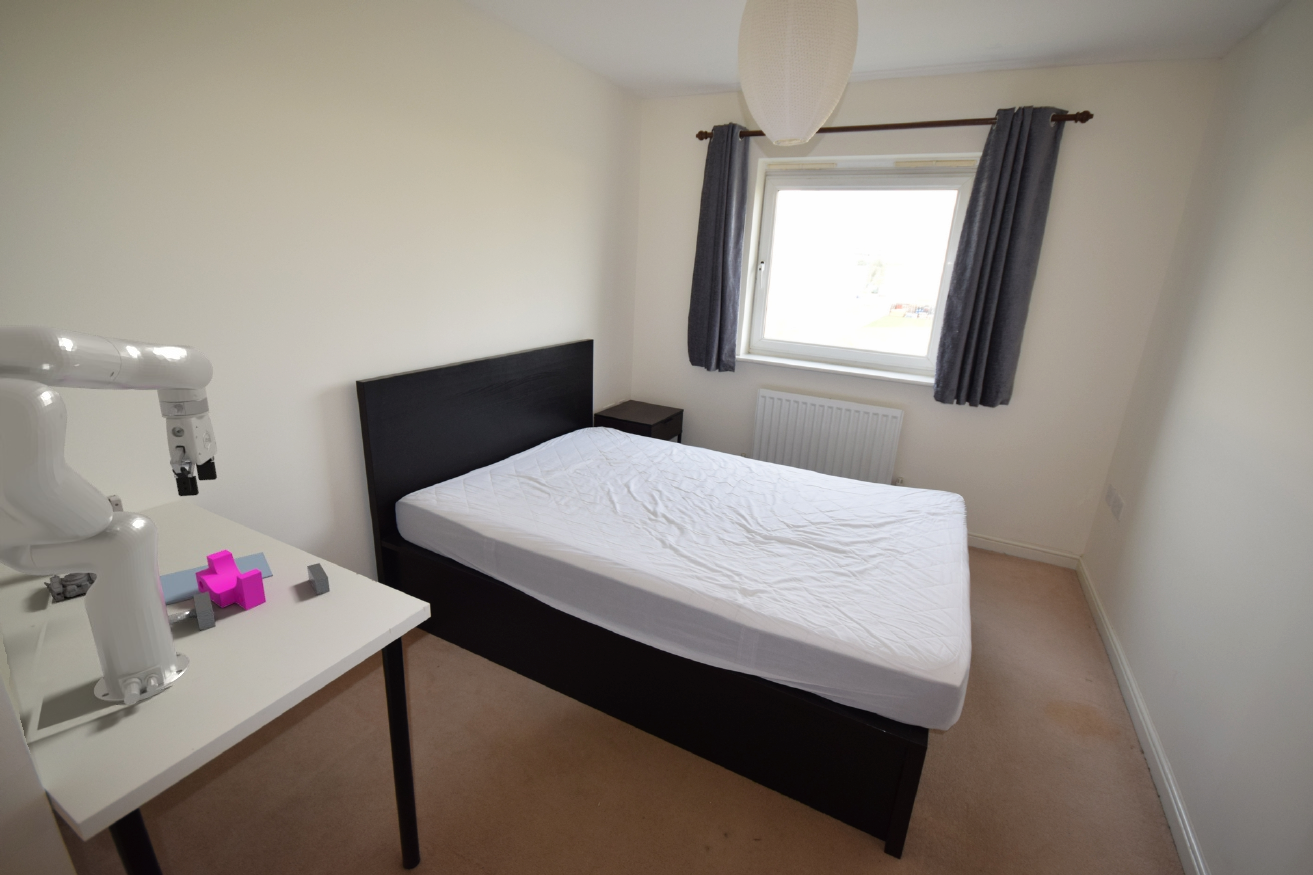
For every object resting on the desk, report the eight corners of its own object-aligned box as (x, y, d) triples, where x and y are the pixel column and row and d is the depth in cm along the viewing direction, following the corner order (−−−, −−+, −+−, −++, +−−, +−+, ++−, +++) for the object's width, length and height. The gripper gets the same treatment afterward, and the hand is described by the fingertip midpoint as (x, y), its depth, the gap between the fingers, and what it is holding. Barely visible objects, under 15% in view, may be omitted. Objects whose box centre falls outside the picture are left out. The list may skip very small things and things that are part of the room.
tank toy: (45, 585, 125) (39, 564, 124) (103, 571, 132) (98, 550, 131) (49, 607, 118) (43, 585, 117) (111, 590, 125) (106, 569, 124)
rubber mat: (273, 577, 132) (272, 574, 132) (148, 609, 118) (147, 606, 118) (263, 554, 142) (262, 552, 142) (146, 581, 128) (146, 579, 128)
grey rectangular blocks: (330, 592, 127) (328, 577, 126) (163, 641, 109) (159, 622, 108) (321, 578, 133) (319, 562, 132) (162, 621, 114) (158, 604, 113)
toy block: (198, 590, 124) (192, 560, 122) (231, 578, 130) (225, 549, 127) (233, 615, 117) (227, 584, 115) (265, 601, 123) (261, 571, 120)
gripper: (189, 416, 108) (204, 500, 112) (222, 398, 124) (234, 473, 128) (140, 417, 106) (157, 503, 110) (181, 399, 121) (194, 475, 126)
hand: (198, 487), depth 119 cm, fingers open, 9 cm apart
